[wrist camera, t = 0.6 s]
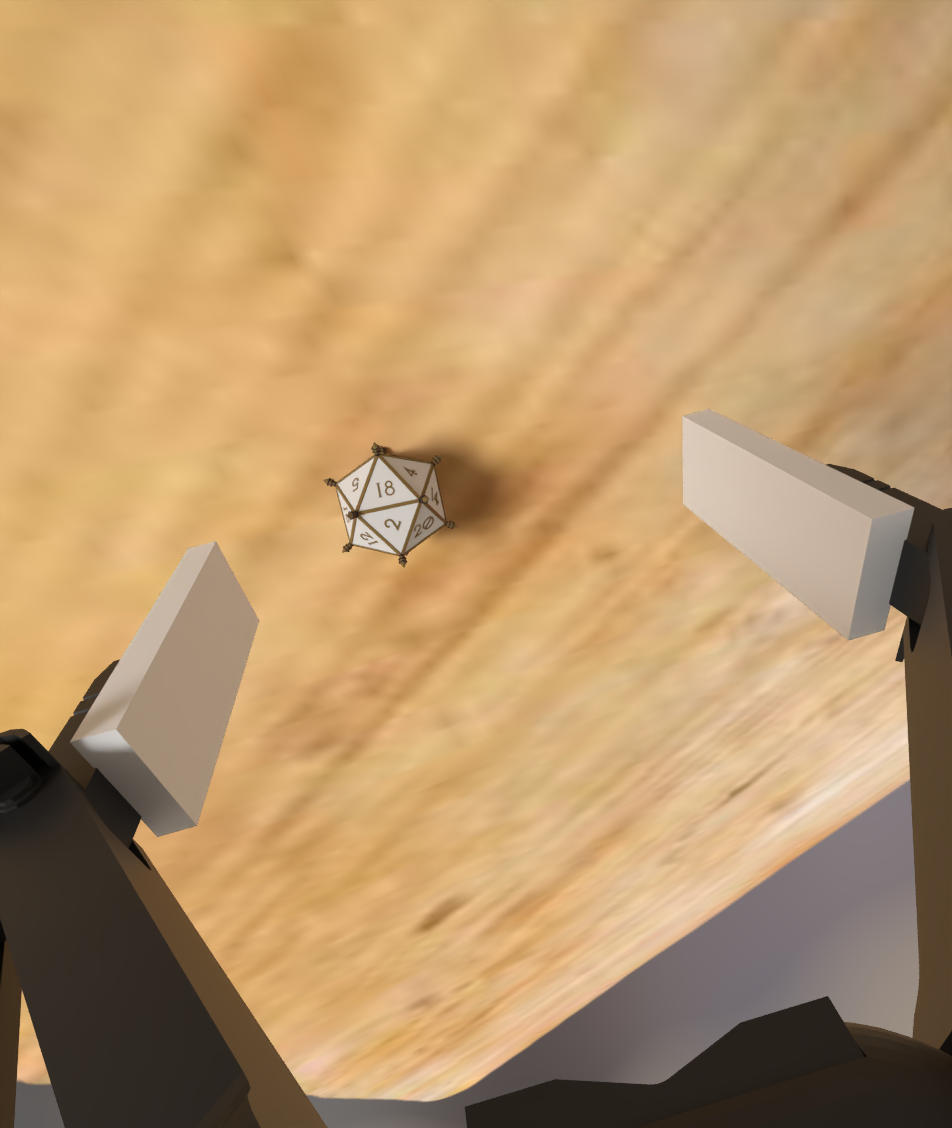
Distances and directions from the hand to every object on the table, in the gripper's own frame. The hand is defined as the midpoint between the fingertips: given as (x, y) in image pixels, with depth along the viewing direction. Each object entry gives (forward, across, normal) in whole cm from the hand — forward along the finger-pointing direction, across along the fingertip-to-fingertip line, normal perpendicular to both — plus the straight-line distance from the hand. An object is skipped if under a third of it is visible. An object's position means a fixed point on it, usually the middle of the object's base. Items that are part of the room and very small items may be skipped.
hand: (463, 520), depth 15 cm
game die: (+27, -4, -9) cm, 28 cm away
